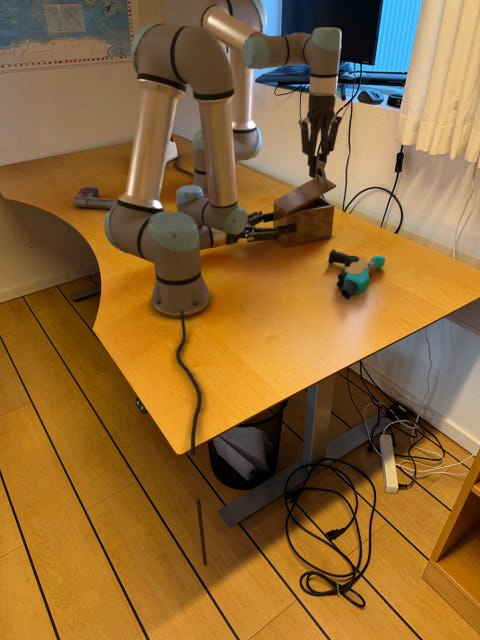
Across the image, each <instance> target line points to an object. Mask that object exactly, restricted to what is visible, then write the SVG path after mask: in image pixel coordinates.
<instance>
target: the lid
mask: <svg viewBox="0 0 480 640" xmlns="http://www.w3.org/2000/svg"><path fill="white" fill-rule="evenodd" d="M317 167H318V168H320V169H321V171H322V175H323V177H320V176H319V175H317ZM325 169H326V165H325V163H324V162H322V161H320V160H319V159H318V158H317V164H316V176H315V178H312V179H310V180H308V181H307V182H305V183H303V184H301V185H299V186H298V187H296V188H294V189H292V190H290V191H289V192H287V193H285V194H283V195H282V196H280V197H277V198H276V199H275V200H273V201H272V202H273V205H274V204H275V205H277V206H278V207H279V208H280V209H281V210H283V211H284V212H285V213H286V214H289V213H291V212H293V211H295V210H296V209H298V208H300V207H302V206H303V205H305V204H307V203H309V202H311V201H312V200H314V199H316V198H318V197H319V196H321V197H322V196H323V195H325V194H326V193H329V192H330V191H332V190H334V189H335V188H337V184H335V183H334V182H332V181H331V180H329V179H327V175H326V171H325Z"/></svg>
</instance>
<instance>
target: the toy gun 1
mask: <svg viewBox="0 0 480 640" xmlns="http://www.w3.org/2000/svg"><path fill="white" fill-rule="evenodd" d="M99 192H100V191H99V187H98V186H83V187H81V188H79V190H78V192H77V196H74V197H73V200H72V202H71V205H72V204H73V206H75V207H80V208H92V209H104V210H105V209H106V210H111V208H112V207H113V206H115V205H117V202H118V200H115V199H114V198H113V199H111V198H108V197H107V198H104V197H101V198H100V197H99V194H100V193H99Z"/></svg>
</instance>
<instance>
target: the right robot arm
mask: <svg viewBox="0 0 480 640" xmlns="http://www.w3.org/2000/svg"><path fill="white" fill-rule="evenodd" d="M197 24H198V25H197V26H200V27H202V28H205V29H206V30H208V31H209V32H210V33H212V34H213V35H214V36H215V37H216V38H217V40H218V41H219V42H220V43H221V44H223V45H225V46H226V47H228V48H229V63H230V67H231V70H232V75H233V80H234V93H235V95H234V96H233V98H232V99H231V114H232V128H233V143H234V158H235V162H242V161H249V160H252V159H255V158H256V157H257V156H259V154H260V152H261V149H262V145H263V138H262V136H261V135H262V132H261V130H260V129H259V128H258V127H257V123H256V121H254V120H253V117H254V116H253V115H254V113H253V112H254V81H255V70H264V69H272V68H279V67H280V68H281V67H290V66H291V67H292V66H300V65H302V66H307V67H310V72H309V87H308V88H309V92H310V93H309V94H308V100H307V101H308V103H307V106H308V111H307V113H306V117H305V118H303V119H299V120H298V125H299V127H300V138H301V152H302V153H303V154H304V155H305V156H307V166H308V167H309V169H308V176H309V177H310V178H312V179H314V178H316V169H317V175H318V176H320V177H323V175H322V171H321V169H320V168H318V167H316V164H317V159H319V160H320V161H322V162H324V163H325V166H326V165H327V163H328V156H330V154H331V152H334V151H335V145H336V141H337V137H338V131H339V126H340V124H341V122H342V120H343V117H342V116H340V115H338V114H336V112H335V108H336V101H337V94H336V92H337V91H338V78H339V69H340V68H339V67H340V58H341V49H342V30H341V29H340V28H338V27H331V26H327V27H323V26H322V27H315V28H314V29H313V30H312V34H311V33H306V32H293V33H292V34H281V35H268V34H265V32H266V30H267V27H268V15H267V10H266V6H265V5H264V2H263V0H205V1H204V2H203V3H202V4H201V5H200V8H199V9H198V13H197ZM309 124H310V127H309ZM309 131H310V132H309ZM319 134H320V152H318V154H317V155H316V151H317V144H318V137H319ZM191 147H192V155H193V170H194V173H192V172H190V171H188V170H186V169H184V168H183V167H181V166H180V165H179V161H180V153H179V152H178V151H177V154H178V156H177V157H176V160H175V161H176V162H175V165H176V168H177V169H178V170H179V171H181V172H183V173H186V174H187V175H190V176H191V177H193V178H192V183H191V185H195V186H199V187H200V188H201V189H202V192H203V197H204V198H208V199H209V191H208V183H207V174H206V165H205V156H204V147H203V138H202V130H201V129H199V130H197V131H196V132H195V133H194V134H193V136H192V146H191Z"/></svg>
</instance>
